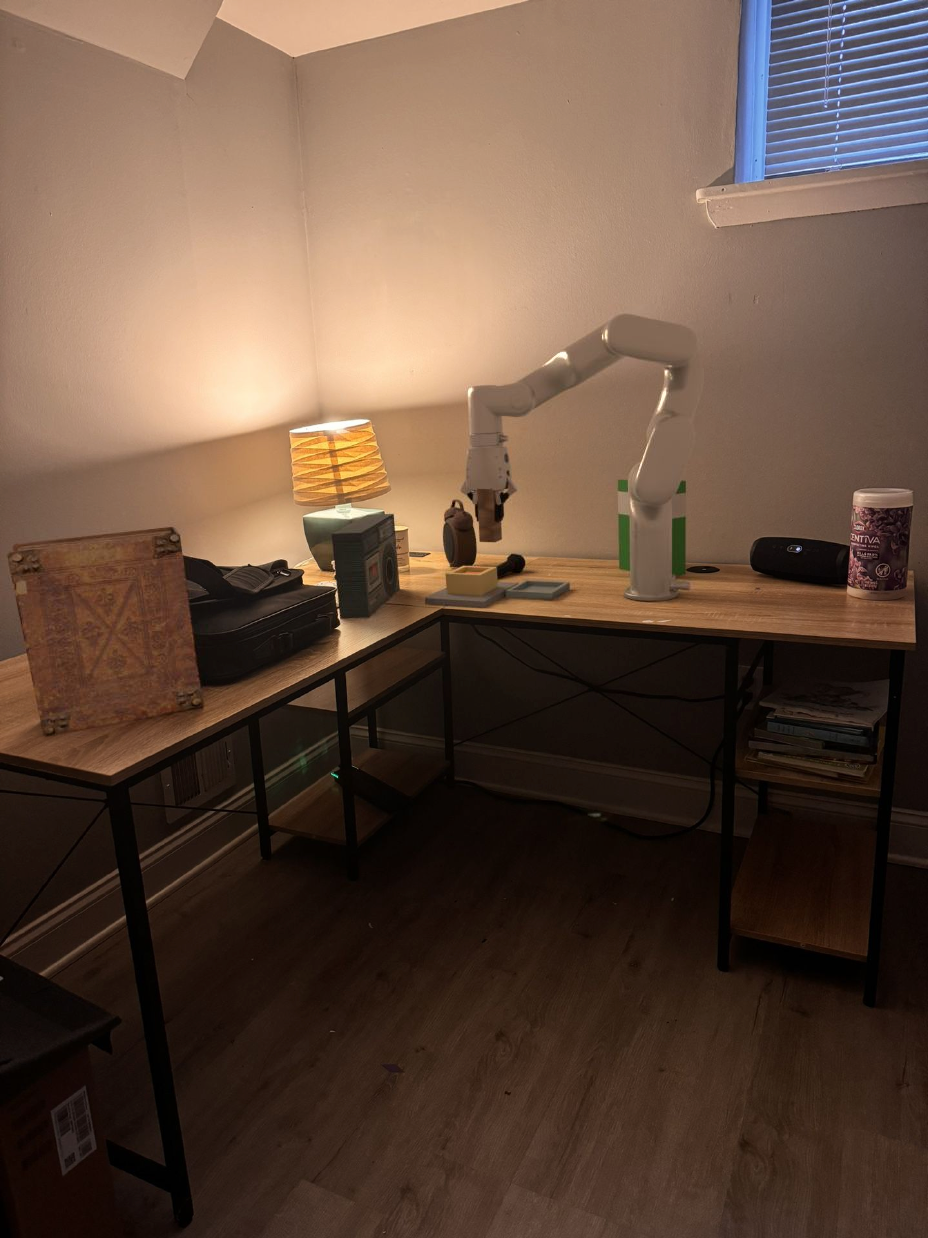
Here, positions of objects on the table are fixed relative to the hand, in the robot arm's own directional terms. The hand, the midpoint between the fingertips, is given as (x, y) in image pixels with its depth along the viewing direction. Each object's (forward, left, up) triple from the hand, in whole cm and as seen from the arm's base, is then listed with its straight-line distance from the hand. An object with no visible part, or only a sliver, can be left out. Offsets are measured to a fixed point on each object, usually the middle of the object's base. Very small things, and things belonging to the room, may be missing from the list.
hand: (489, 520), depth 201 cm
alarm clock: (+26, -32, -20) cm, 46 cm away
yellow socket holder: (+8, -4, -20) cm, 22 cm away
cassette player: (+30, +8, -20) cm, 37 cm away
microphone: (+11, -26, -20) cm, 35 cm away
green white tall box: (-27, -40, -20) cm, 52 cm away
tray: (-7, -10, -20) cm, 23 cm away
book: (+29, +86, -20) cm, 93 cm away
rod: (0, 0, -5) cm, 5 cm away
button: (+8, -4, -17) cm, 19 cm away
